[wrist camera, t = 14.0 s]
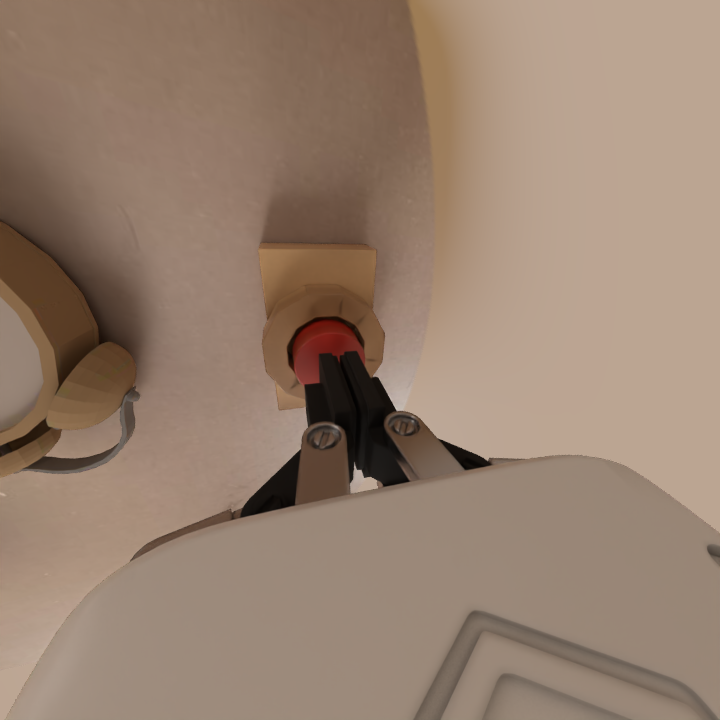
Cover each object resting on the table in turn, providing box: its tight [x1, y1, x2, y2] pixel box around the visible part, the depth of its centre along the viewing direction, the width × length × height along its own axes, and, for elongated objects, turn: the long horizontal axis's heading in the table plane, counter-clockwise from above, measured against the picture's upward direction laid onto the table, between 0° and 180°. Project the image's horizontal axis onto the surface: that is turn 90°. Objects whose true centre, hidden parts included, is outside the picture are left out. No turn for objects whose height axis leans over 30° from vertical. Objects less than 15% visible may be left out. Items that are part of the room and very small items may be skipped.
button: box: [293, 320, 366, 386], centre depth 14 cm, size 4×4×2 cm
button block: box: [258, 243, 385, 410], centre depth 17 cm, size 10×6×4 cm, turn 177°
